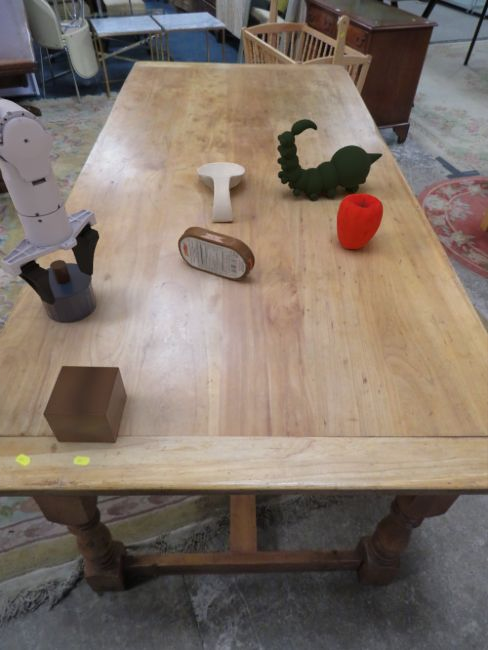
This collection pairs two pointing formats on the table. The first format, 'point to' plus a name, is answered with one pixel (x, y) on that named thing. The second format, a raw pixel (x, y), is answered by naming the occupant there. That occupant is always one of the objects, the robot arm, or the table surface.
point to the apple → (358, 220)
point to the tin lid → (67, 279)
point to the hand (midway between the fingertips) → (68, 286)
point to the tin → (216, 253)
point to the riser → (86, 404)
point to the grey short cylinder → (72, 307)
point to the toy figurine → (322, 166)
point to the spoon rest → (221, 186)
